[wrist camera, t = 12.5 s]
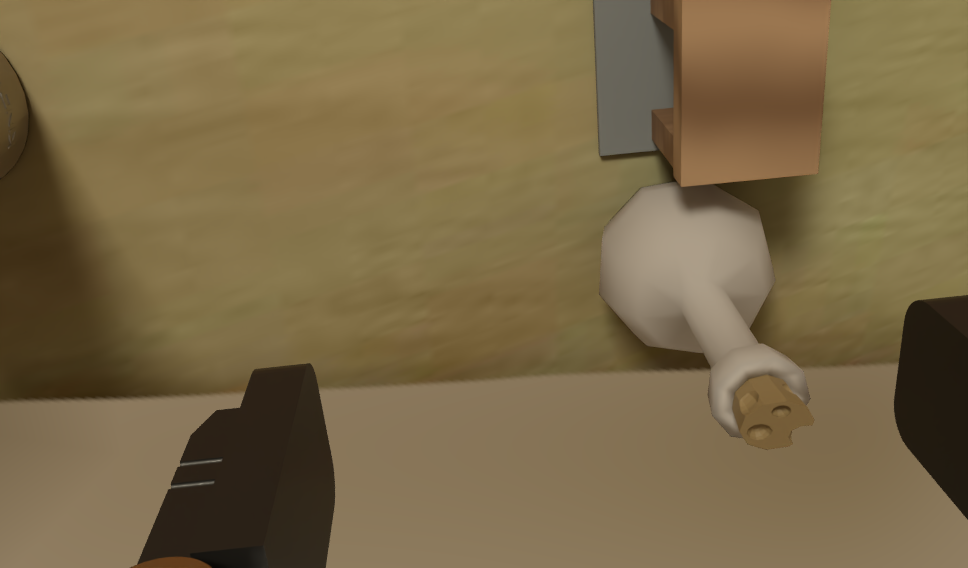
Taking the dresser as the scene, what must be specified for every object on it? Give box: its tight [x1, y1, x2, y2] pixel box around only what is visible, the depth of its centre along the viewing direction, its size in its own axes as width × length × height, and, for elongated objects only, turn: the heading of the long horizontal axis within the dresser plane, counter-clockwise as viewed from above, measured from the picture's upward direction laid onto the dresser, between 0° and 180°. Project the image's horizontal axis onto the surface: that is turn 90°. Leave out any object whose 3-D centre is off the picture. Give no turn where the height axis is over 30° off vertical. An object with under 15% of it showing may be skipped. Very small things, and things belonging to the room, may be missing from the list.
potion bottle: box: [599, 181, 814, 450], centre depth 40 cm, size 9×9×18 cm
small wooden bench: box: [650, 0, 831, 187], centre depth 40 cm, size 8×6×7 cm
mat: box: [593, 0, 674, 156], centre depth 44 cm, size 11×9×1 cm
